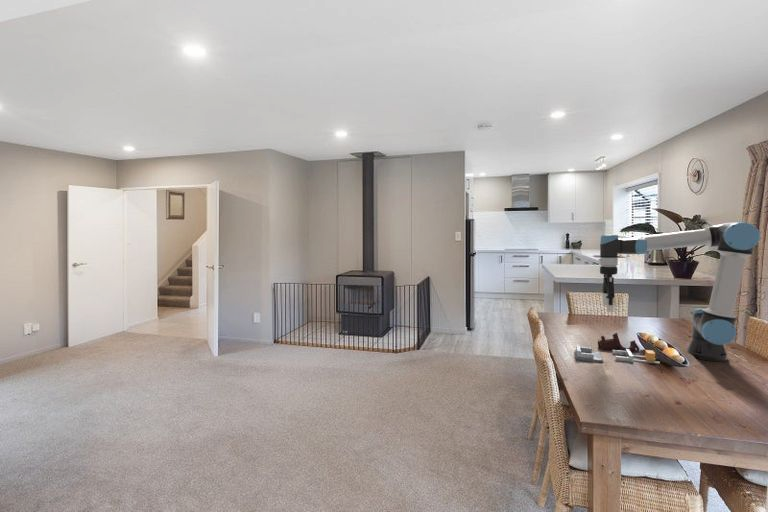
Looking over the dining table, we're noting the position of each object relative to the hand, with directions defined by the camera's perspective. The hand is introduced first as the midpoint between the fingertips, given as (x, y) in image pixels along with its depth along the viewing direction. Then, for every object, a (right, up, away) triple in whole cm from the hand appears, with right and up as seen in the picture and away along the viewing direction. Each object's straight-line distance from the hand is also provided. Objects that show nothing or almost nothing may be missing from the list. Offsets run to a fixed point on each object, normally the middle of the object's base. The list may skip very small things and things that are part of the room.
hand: (608, 308), depth 202 cm
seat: (-1, -23, -9) cm, 25 cm away
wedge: (+12, -22, -14) cm, 28 cm away
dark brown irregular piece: (+7, -22, +3) cm, 24 cm away
